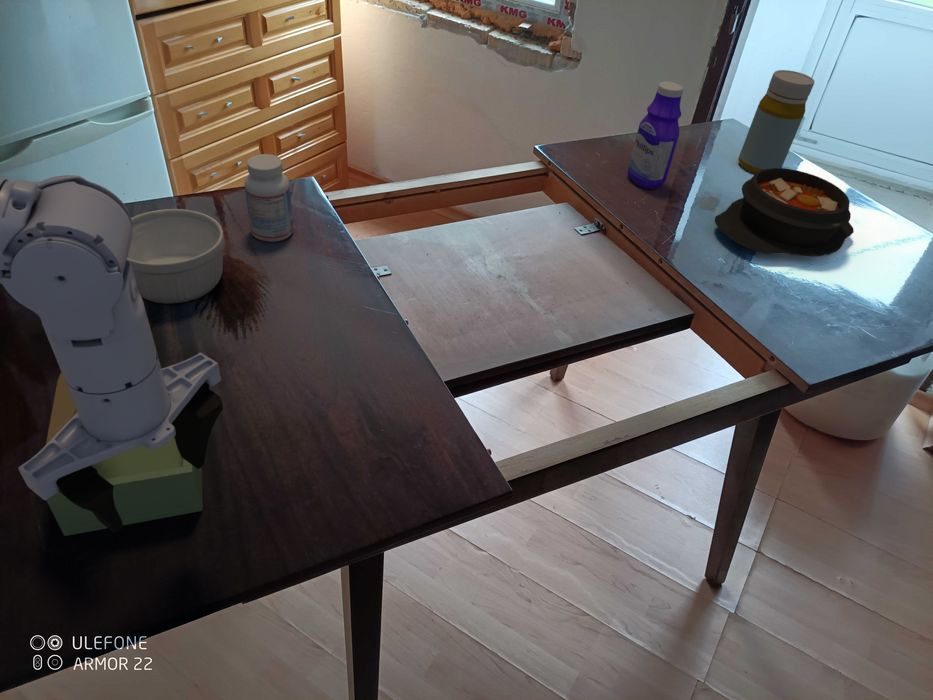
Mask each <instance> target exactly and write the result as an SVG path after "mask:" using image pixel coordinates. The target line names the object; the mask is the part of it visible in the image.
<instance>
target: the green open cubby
mask: <svg viewBox="0 0 933 700" xmlns="http://www.w3.org/2000/svg"><path fill="white" fill-rule="evenodd" d="M91 466H92V467H93V468H95V469H96V470H97V472H98V474H99V475H100V476H102V477H103V478H104V479H106V480H107V481H108V482H109V483H111V484H112V485H113V486H114V488H113V498H114V504H115V507H116V510H117V512H118V514H119V516H120V518H121V520H122V523H123V526H128V525H132V524H133V525H134V524H137V523H144V522H150V521H155V520H160V519H165V518H166V519H167V518H171V517H176V516H183V515H187V514H192V513H198V512H203V510H204V504H203V502H204V501H203V500H204V499H203V469H202V468H203V466H202V467H201V468H199V469H197V468H196V467H194V466H193V465H192V464H190V463H189V462H187V461H186V460H185V459H183V458H182V457H181V455H180V453H179V451H178V448H177V445H176V441H175V438H173V439H171V440H170V441H168V442H167V443H166V444H164V445H163V446H161V447H160V448H158V449H154V450H151V449H149V448H147V447H146V446H139V447H137V448H134V449H132V450H129V451H127V452H124V453H121V454H119V455H116V456H114V457H111V458H109V459H106V460H103V461H101V462H98V463H96V464H93V465H91ZM45 501H46V503H47V504H48V506H49V509H50V510H51V512H52V515H53V516H54V518H55V520H56V522H57V524H58V526H59V529H60V530H61V532H62V534H63V536H64V537H68V536H72V535H78V534H84V533H90V532H94V531H100V530H106V529H108V528H107V527H106V526H105V525H103V524H102V523H101V522H100V521H99V520H98V519H97V517H96V516H95V515H94V513H93V512H91V511H89V510H86V509H83V508H81V507H79V506H77V505H75V504H74V503H72V502H71V501H70V500H69V499H67V498H66V497H65V496H64V495H62V494H61V493H60V492H59V491H58V492H57V493H56V494H54V495H53V496H51V497H50V498H48V499H47V500H45Z"/></svg>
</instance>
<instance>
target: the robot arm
mask: <svg viewBox="0 0 933 700" xmlns="http://www.w3.org/2000/svg"><path fill="white" fill-rule="evenodd" d="M131 218H132V216H131V214H130V211H129V209H128V207H127V206H126V205H125V203H124V201H122V200H121V199H120V198H119V197H118V196H117V195H116V194H115V193H113V192H112V191H111V190H109V189H107V188H106V187H104V186H102V185H100V184H98V183H96V182H92V181H89V180H88V179H86V178H85V177H82V176H80V175H77V174H75V175H74V174H62V175H56V176H51V177H48V178H46V179H44V180H41V181H31V180H26V179H22V178H19V177H18V178H16V179H15V180H11V179H7V178H3V177H0V285H2V286H3V288H4V289H5V290H6V292H7V293H8V294H9V295H10V297H12V298H13V299H14V300H15V301H17V302H18V303H19V304H21V305H22V307H23V306H24V307H25V308H27V309H28V310H30V311H32V312H33V313H34V314H36V315H37V316H38V317H39V319H40V321H41V325H42V328H43V330H44V332H45V335H46V337H47V339H48V342H49V345H50V347H51V350H52V352H53V354H54V357H55V360H56V362H57V364H58V366H59V370H60V373H61V372H62V375H63V377H64V380H65V382H66V385H67V387H68V390H69V392H70V395H71V397H72V400H73V402H74V405H75V407H76V410H77V413H76V414H75V415H74V416H73V417H72V418H71V419H70V420H69V421H68V422H67V423H66V424H65V426H64V427H63V428H62V429H61V430H60V431H59V432H58V433H57V434H56V435H55V436H54V437H53V438H52V439H51V440H50V441H49V442H48V443H47V444H46V443H45V445H44V446H43V447H42V448H41V449H40V450H39V451H38V452H37V453H36V454H35V455H34V456H32V457H31V458H30V459H29V460H27V461H26V462H24V463H23V464H21V465H20V466H18V467H17V469H18V471H19V474H20V475H21V477H22V479H23V481H24V483H25V485H26V487H27V488H28V489H30V490H31V491H32V492H33V493H34V494H36V495H37V496H38V497H40V498H41V499H42V500H43V501H46V500H47V499H48V498H50V497H51V496H53V495H54V494H56V493H57V492H58V491H59V492H60V493H61V494H62V495H64V496H65V497H66V498H67V499H69V500H70V501H71V502H72V503H74V504H75V505H77V506H79V507H81V508H83V509H86V510H89V511H91V512H93V513H94V515H95V516H96V517H97V519H98V520H99V521H100V522H101V523H102V524H103V525H105V526H106V527H107V528H106V529H108V530H109V531H110V532H111V533H114V534H116V533H118V532H119V531H120V530H122V529H123V528H124V525H123V523H122V520H121V518H120V516H119V514H118V512H117V510H116V507H115V504H114V498H113V488H114V486H113V485H112V484H111V483H109V482H108V481H107V480H106V479H104V478H103V477H102V476H100V475H99V474H98V472H97V470H96V469H95V468H93V467H92V466H91V465H93V464H96V463H98V462H101V461H103V460H106V459H109V458H111V457H114V456H116V455H119V454H121V453H124V452H127V451H129V450H132V449H134V448H137V447H139V446H146V447H147V448H149V449H151V450H154V449H158V448H160V447H161V446H163V445H164V444H166V443H167V442H168V441H170V440H171V439H173V438H175V441H176V445H177V448H178V451H179V453H180V455H181V457H182V458H183V459H185V460H186V461H187V462H189V463H190V464H192V465H193V466H194V467H196V468H197V469H199V468H201V467H202V468H203V467H204V466H205V462H206V456H207V449H208V443H209V439H210V435H211V433H212V429H213V427H214V425H215V422H216V421H217V419H218V417H219V416H220V414H221V413H222V412H223V410H224V406H223V400H222V397H221V396H220V395H219V394H218V393H217V392H215V391H213V390H212V389H210V387H211V388H212V387H214V386H216V385H217V384H218V383H220V382H221V381H222V377H221V373H220V372H221V371H220V368H219V363H218V362H217V361H215V360H214V359H212V358H210V357H209V356H207V355H206V354H205V353H203V352H198V353H197V354H195V355H193V356H191V357H189V358H187V359H186V360H185V359H184V360H183V361H180V362H178V363H174V364H171V365H169V366H166V367H163V368H162V366H161V363H160V359H159V356H158V351H157V347H156V344H155V340H154V337H153V336H154V335H153V332H152V329H151V326H150V321H149V318H148V315H147V310H146V307H145V303H144V300H143V297H141V295H140V294H139V291H138V287H137V284H136V280H135V276H134V273H133V269H132V265H131V263H130V262H129V261H127V257H128V253H129V249H130V245H131V241H132V229H133V226H132V219H131Z"/></svg>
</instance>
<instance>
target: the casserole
mask: <svg viewBox="0 0 933 700" xmlns="http://www.w3.org/2000/svg"><path fill="white" fill-rule="evenodd" d="M741 193H742V196H743V197H741V198H739V199H737V200H735V201H733V202H732V203H730V205H729V206H728V207H727V208H726V209H725V210H724V211H722V212H721V213H719V214H717V215H716V216H715V217H714V223H715V225H716V227H717V228H718V229H719V230H720V231H721V232H722V233H723V234H724V235H725V236H726V237H727V238H728V239H730V240H732V241H733V242H735V243H737V244H738V245H740V246H742V247H744V248H746V249H748V250H751V251H753V252H756V253H758V254H763V255H764V254H765V255H793V256H802V257H822V256H828V255H829V256H830V255H832V254H834V253H837V252H838V251H839V250H840V249H842V247H843V245H844V244H845V241H846V239H848V238H849V237H850V236H852V235H853V234H854V227H853V225H852V224H851V223H850V221H851V218H852V217H851V216H852V215H851V211H850V199H849V197H848V195H847V194H846V193H845V191H843V190H842V189H841V188H840V187H839V186H837V185H835V184H834V183H832V182H830V181H828V180H827V179H824V178H822V177H819V176H818V175H814V174H811V173H809V172H804V171H801V170H796V169H791V168H771V169H764V170H761V171H759V172H757V173H756V174H753V176H752V177H751V178H750V179H748V180H746V181H745V182H744V183H743V184H742V185H741Z"/></svg>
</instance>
